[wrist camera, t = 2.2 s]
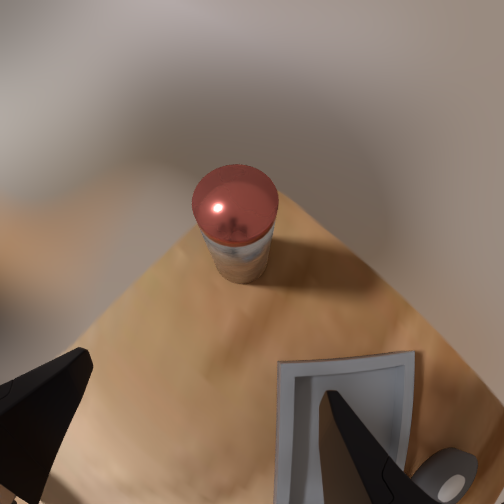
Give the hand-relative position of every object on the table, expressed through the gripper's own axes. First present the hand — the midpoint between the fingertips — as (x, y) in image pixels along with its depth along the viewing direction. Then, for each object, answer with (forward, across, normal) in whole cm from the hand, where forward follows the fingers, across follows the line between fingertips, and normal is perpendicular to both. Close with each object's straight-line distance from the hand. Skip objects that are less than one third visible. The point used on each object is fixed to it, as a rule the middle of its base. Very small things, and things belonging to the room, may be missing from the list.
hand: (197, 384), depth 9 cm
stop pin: (+15, 0, +2) cm, 15 cm away
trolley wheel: (+1, -23, +18) cm, 30 cm away
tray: (+5, -10, +13) cm, 18 cm away
